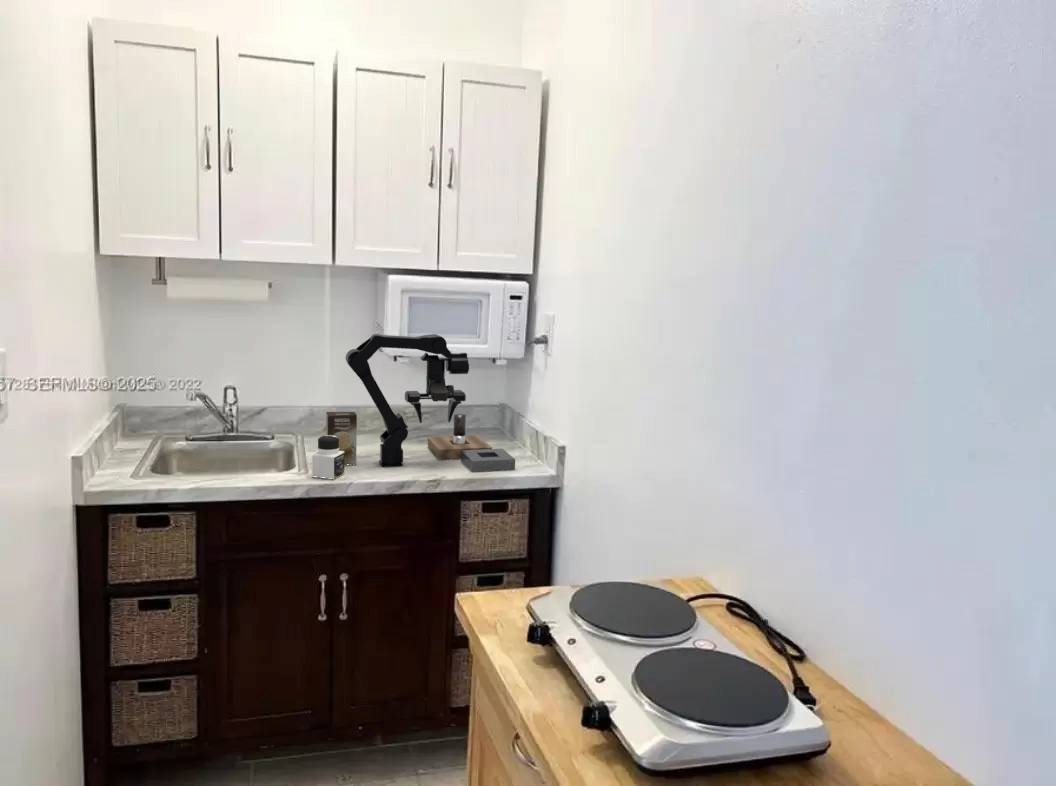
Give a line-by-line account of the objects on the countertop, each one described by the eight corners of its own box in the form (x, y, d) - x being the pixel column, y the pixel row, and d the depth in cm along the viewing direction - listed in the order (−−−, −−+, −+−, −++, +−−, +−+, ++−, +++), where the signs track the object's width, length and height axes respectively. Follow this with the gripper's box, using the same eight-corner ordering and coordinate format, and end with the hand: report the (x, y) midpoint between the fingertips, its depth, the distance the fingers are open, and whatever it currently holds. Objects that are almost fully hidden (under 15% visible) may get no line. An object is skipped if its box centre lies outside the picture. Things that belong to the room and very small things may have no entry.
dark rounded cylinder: (459, 454, 268) (460, 416, 266) (450, 452, 271) (451, 414, 269) (467, 452, 272) (468, 414, 270) (458, 450, 274) (459, 413, 272)
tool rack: (438, 460, 260) (439, 449, 259) (427, 447, 277) (427, 437, 276) (491, 457, 266) (492, 447, 265) (477, 445, 282) (478, 435, 282)
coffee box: (326, 466, 248) (326, 415, 245) (325, 461, 254) (325, 411, 251) (356, 465, 250) (357, 415, 248) (354, 459, 256) (354, 411, 254)
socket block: (472, 472, 247) (472, 461, 247) (461, 460, 260) (461, 450, 260) (514, 469, 252) (515, 459, 251) (502, 458, 265) (502, 448, 264)
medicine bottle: (334, 480, 233) (334, 440, 231) (312, 477, 235) (311, 438, 232) (344, 473, 240) (344, 435, 238) (322, 471, 241) (322, 433, 239)
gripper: (411, 378, 242) (410, 429, 245) (470, 377, 248) (469, 426, 251) (404, 373, 252) (404, 421, 255) (461, 372, 258) (460, 419, 261)
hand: (434, 422), depth 255 cm, fingers open, 9 cm apart
